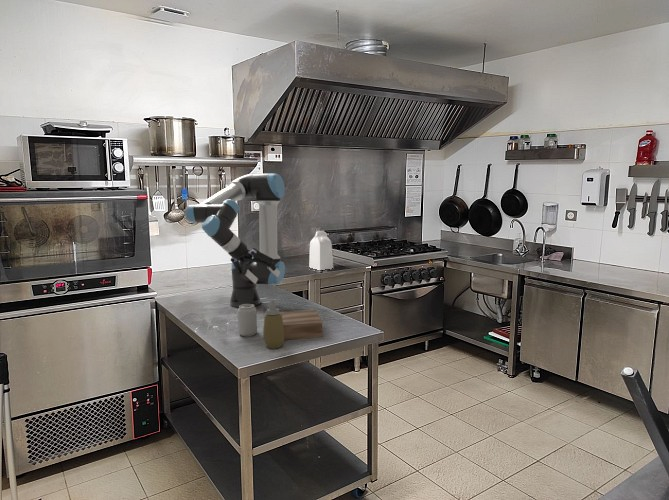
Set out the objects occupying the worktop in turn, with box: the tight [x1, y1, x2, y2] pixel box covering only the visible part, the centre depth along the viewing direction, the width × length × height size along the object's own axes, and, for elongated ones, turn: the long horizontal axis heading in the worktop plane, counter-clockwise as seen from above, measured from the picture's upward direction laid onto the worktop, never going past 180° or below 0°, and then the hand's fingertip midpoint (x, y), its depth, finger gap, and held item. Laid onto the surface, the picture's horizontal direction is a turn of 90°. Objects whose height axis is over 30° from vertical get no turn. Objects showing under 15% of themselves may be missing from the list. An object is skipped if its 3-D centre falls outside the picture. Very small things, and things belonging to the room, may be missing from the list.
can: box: [237, 304, 258, 337], centre depth 194 cm, size 8×8×12 cm
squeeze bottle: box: [262, 299, 285, 349], centre depth 178 cm, size 8×8×18 cm
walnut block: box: [279, 309, 324, 341], centre depth 196 cm, size 18×18×6 cm
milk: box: [308, 230, 334, 271], centre depth 324 cm, size 12×12×26 cm
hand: (267, 278), depth 207 cm, fingers open, 13 cm apart
